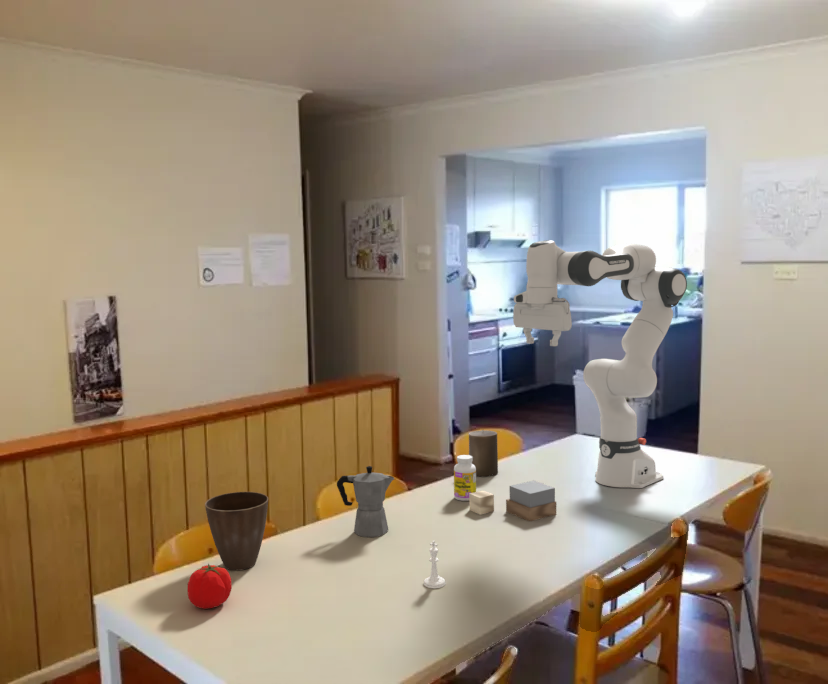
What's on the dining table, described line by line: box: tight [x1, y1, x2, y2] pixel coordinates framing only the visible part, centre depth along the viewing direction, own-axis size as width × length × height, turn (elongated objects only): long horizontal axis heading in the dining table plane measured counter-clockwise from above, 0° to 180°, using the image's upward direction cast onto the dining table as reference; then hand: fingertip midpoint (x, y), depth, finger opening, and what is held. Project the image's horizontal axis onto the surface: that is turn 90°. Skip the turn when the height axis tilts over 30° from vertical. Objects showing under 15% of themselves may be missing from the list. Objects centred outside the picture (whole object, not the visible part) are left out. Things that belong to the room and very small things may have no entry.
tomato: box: [187, 563, 233, 609], centre depth 167 cm, size 9×10×8 cm
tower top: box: [509, 479, 556, 508], centre depth 219 cm, size 9×9×4 cm
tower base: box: [505, 498, 557, 522], centre depth 220 cm, size 10×10×4 cm
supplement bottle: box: [453, 454, 477, 502], centre depth 234 cm, size 7×7×13 cm
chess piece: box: [423, 540, 447, 589], centre depth 174 cm, size 5×5×10 cm
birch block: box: [468, 490, 495, 516], centre depth 223 cm, size 5×5×5 cm
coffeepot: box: [336, 465, 395, 538], centre depth 207 cm, size 15×9×18 cm, turn 92°
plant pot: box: [204, 491, 269, 571], centre depth 187 cm, size 15×15×16 cm
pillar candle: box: [468, 429, 499, 478], centre depth 260 cm, size 10×10×15 cm
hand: (541, 344), depth 225 cm, fingers open, 8 cm apart
